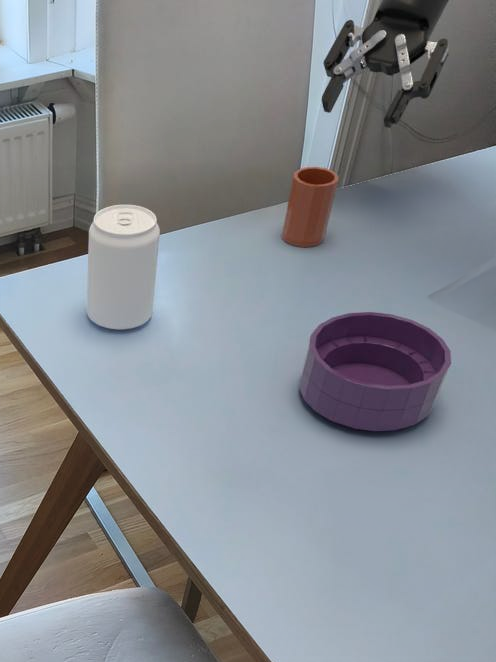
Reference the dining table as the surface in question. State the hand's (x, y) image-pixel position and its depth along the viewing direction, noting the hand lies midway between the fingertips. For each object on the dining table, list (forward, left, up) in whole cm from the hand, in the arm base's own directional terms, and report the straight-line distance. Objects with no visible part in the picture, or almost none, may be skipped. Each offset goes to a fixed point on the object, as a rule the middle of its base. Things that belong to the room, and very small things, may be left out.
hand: (356, 116), depth 114 cm
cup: (+8, +2, -12) cm, 15 cm away
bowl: (+31, +30, -12) cm, 45 cm away
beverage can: (+40, 0, -13) cm, 42 cm away
